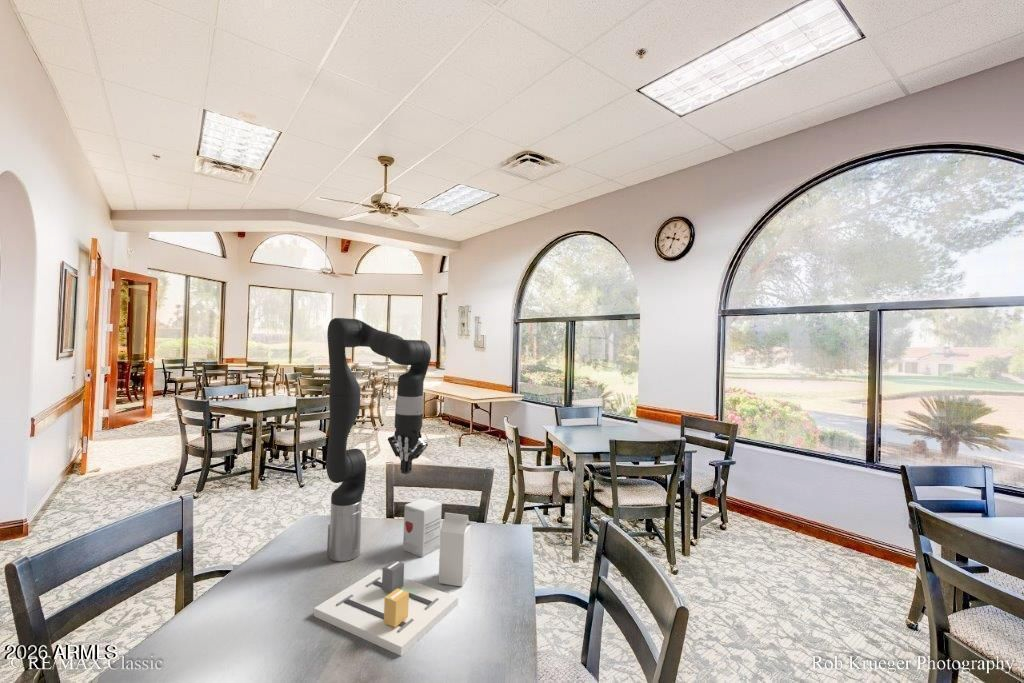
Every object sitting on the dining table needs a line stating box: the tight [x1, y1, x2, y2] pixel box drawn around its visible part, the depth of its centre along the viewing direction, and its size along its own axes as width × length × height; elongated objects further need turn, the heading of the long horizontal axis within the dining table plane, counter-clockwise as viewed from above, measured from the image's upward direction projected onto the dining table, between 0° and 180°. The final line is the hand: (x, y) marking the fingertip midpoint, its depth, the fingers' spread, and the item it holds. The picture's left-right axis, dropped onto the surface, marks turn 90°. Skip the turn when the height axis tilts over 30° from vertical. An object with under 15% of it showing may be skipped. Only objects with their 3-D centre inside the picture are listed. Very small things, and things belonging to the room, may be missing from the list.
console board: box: [313, 568, 459, 657], centre depth 114 cm, size 28×22×2 cm
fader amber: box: [384, 588, 409, 627], centre depth 106 cm, size 4×4×6 cm
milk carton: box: [438, 512, 472, 587], centre depth 130 cm, size 7×7×19 cm
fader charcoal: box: [381, 560, 405, 593], centre depth 120 cm, size 4×4×6 cm
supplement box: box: [402, 497, 443, 558], centre depth 148 cm, size 9×9×15 cm
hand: (405, 473), depth 124 cm, fingers closed
